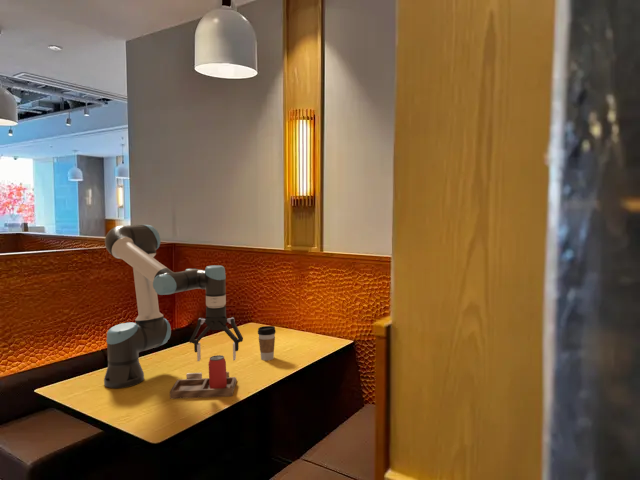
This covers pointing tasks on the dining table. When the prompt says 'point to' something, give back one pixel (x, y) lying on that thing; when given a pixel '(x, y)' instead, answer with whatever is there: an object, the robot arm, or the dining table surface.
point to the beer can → (217, 372)
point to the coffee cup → (267, 342)
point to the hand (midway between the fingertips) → (216, 359)
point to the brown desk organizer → (200, 387)
